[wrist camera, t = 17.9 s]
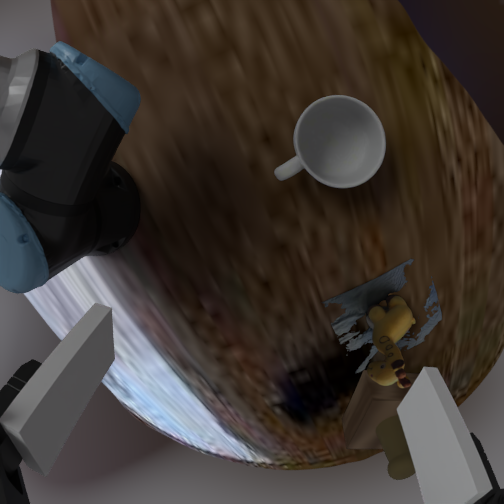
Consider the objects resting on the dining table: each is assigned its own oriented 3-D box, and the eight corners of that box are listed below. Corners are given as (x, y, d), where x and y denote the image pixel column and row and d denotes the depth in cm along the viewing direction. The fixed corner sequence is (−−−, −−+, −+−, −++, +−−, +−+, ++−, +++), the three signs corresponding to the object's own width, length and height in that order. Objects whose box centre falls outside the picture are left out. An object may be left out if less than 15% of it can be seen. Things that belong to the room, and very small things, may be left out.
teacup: (353, 95, 39) (368, 84, 31) (379, 169, 41) (398, 173, 34) (258, 125, 41) (253, 120, 34) (286, 199, 44) (286, 210, 36)
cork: (370, 425, 46) (382, 475, 35) (403, 410, 44) (420, 458, 34) (381, 441, 47) (392, 488, 37) (411, 427, 46) (427, 472, 35)
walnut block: (341, 418, 56) (346, 448, 48) (363, 370, 51) (372, 400, 44) (398, 420, 55) (407, 447, 47) (424, 373, 51) (438, 400, 43)
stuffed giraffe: (320, 302, 48) (340, 367, 33) (421, 250, 45) (476, 294, 30) (354, 370, 53) (375, 437, 38) (441, 325, 49) (484, 379, 34)
